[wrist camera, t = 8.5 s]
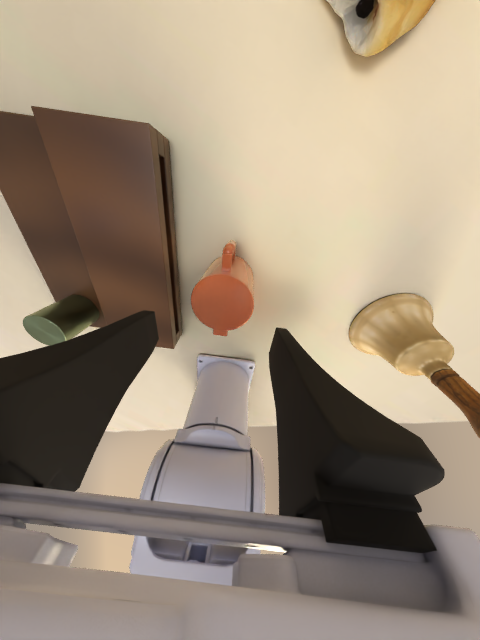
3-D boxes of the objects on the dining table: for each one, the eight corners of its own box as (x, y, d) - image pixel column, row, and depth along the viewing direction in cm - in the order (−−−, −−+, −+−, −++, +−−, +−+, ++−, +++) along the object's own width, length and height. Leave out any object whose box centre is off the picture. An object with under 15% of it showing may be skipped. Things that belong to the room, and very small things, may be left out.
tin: (103, 323, 21) (71, 348, 18) (73, 319, 21) (34, 344, 18) (93, 296, 19) (55, 318, 16) (60, 292, 19) (14, 313, 16)
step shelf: (182, 333, 23) (173, 349, 20) (72, 319, 22) (50, 333, 20) (168, 139, 13) (148, 122, 11) (-24, 110, 13) (-92, 87, 10)
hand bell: (372, 362, 24) (533, 569, 10) (333, 328, 21) (479, 543, 8) (443, 323, 20) (850, 568, 6) (407, 276, 17) (948, 516, 4)
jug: (248, 306, 20) (247, 340, 15) (206, 301, 20) (191, 332, 15) (260, 240, 16) (263, 255, 11) (208, 233, 16) (188, 244, 11)
